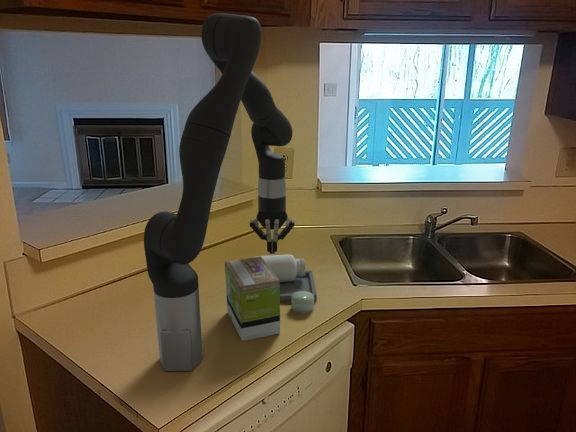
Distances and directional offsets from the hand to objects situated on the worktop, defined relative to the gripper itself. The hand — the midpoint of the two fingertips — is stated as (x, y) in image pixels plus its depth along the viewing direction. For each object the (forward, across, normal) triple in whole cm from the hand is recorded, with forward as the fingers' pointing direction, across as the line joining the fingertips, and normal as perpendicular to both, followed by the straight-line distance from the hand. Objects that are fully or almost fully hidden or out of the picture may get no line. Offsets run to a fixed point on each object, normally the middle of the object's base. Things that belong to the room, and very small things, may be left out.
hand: (272, 252), depth 137 cm
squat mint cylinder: (+11, +8, -12) cm, 18 cm away
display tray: (+11, +4, 0) cm, 12 cm away
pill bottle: (+7, -6, +3) cm, 9 cm away
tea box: (+11, -5, -19) cm, 23 cm away
